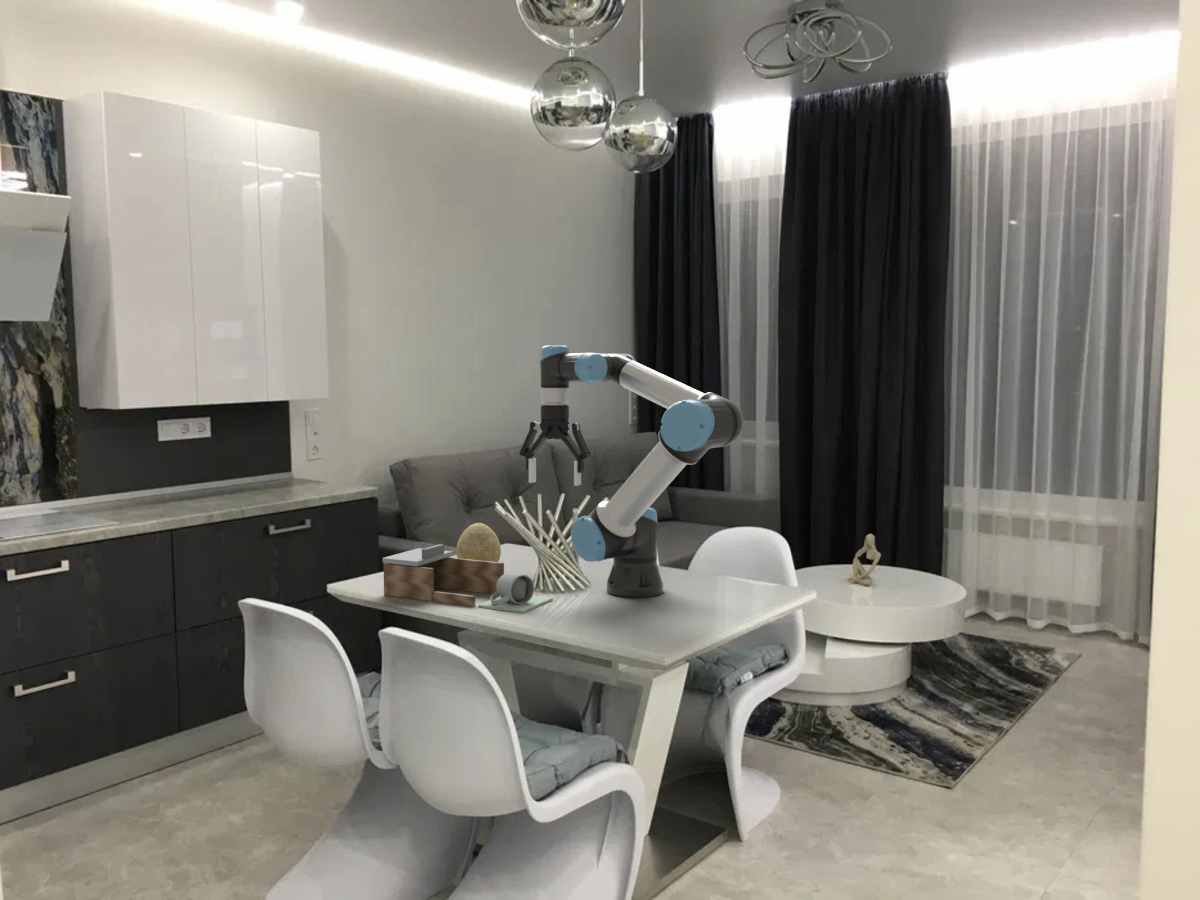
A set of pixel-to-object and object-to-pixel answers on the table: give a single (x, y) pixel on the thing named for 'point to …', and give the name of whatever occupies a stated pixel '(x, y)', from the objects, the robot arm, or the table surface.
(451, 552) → the sliding cover
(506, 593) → the ceramic mug
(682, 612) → the table surface
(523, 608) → the sage mat
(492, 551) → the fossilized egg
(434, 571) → the walnut well board
